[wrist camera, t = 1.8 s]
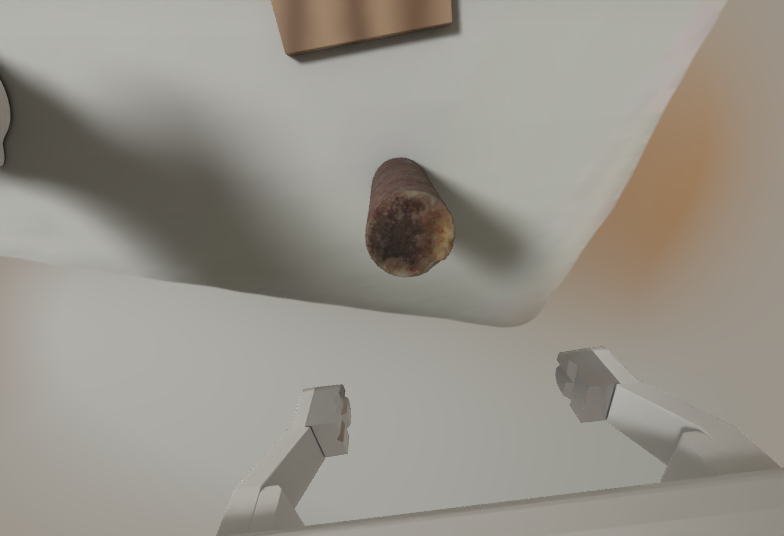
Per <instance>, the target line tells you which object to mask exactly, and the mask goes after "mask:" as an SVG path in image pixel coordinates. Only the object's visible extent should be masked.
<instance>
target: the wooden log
mask: <svg viewBox="0 0 784 536" xmlns="http://www.w3.org/2000/svg"><path fill="white" fill-rule="evenodd" d="M365 237H366V246H367V250H368V252H369V254H370V256H371V259H372V260H373V261H374V262H375V263H376V264H377V266H378V267H380V268H381V269H383V270H384V271H385V272H387V273H389V274H392V275H395V276H399V277H412V276H419V275H421V274H423V273H426V272H428V271H429V270H430V269H431V268H432V267H433V266H434V265H436V264H437V263H438V262H440V261H441V260H445V259H446V257H447V256H448V255H449V253H450V252H451V249H452V247H453V242H454V239H455V226H454V223H453V219H452V216H451V213H450V212H449V210H448V209H447V207H446V205H445V204H444V202H443V201H442V199H441V197H440V196H439V195H438V193H437V191H436V190H435V188H434V187H433V185H432V184H431V182H430V180H429V179H428V177H427V175H426V174H425V172H424V171H423V169H422V168H421V167H420V166H419V165H418V164H417V163H416V162H414V161H412V160H410V159H407V158H393V159H390V160H388V161H386V162H384V163H383V164H382V165H381V166H380V167H379V168H378V170H377V171H376V173H375V175H374V177H373V181H372V187H371V196H370V205H369V212H368V219H367V225H366V235H365Z"/></svg>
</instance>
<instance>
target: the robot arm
mask: <svg viewBox="0 0 784 536" xmlns="http://www.w3.org/2000/svg"><path fill="white" fill-rule="evenodd" d="M9 124H10V107H9V102H8V98H7V95H6V92H5V89H4V87H3V85H2V82H1V80H0V166H2V165H3V164H4V150H3V140H4V137H5V135H6V133H7V131H8V128H9ZM557 361H558V362H559V364H560V365H559V366H558V367H557V368H556V375H555V376H556V381H557V384H558V386H559V388H560V390H561V392H562V393H563V395H564V396H566V397H568V398H569V399H571V404H570V406H571V407H572V409H573V411H574V412H575V414H576V415H577V417H578V418H579V420H580V422H581V423H582V422H592V421H602V420H607V422H608V423H609V424H611V425H612V426H614V427H615V428H616V429H618V430H619V431H620V432H622V433H623V434H625V435H626V436H627V437H629V438H630V439H631V440H633V441H634V442H636V443H637V444H638V445H640V446H642V447H643V448H644V449H645V450H647V451H648V452H649V453H651V454H652V455H654V456H655V457H657V458H658V459H659V460H660V461H662V462H663V463H665V464H666V465H667V467H666V469H665V471H664V473H663V475H662V478H661V483H653V484H645V485H637V486H629V487H621V488H613V489H604V490H596V491H588V492H580V493H571V494H563V495H555V496H547V497H538V498H530V499H522V500H513V501H505V502H497V503H489V504H481V505H473V506H465V507H456V508H448V509H440V510H432V511H424V512H416V513H409V514H400V515H392V516H383V517H375V518H367V519H359V520H351V521H343V522H334V523H326V524H319V525H310V526H305V525H304V524H303V522H302V521H301V519H300V517H299V516H298V514H297V513H296V511H295V507H296V505H297V504H298V502H299V500H300V499H301V497H302V496H303V494H304V492H305V491H306V489H307V487H308V486H309V484H310V482H311V481H312V479H313V478H314V476H315V474H316V473H317V471H318V469H319V468H320V466H321V464H322V463H323V461H324V460H325V458H324V457H329V456H336V455H342V454H347V453H348V443H349V434H348V431H347V428H348V427H349V425H350V422H351V421H350V420H351V408H350V403H349V400H348V398H347V397H345V389H344V386H343V385H332V386H323V387H316V388H308V389H303V391H302V392H301V395H300V398H299V402H298V405H297V409H296V413H295V416H294V420H293V424H292V427H291V429H289V430H286V431H285V433H284V434H283V435H282V436H281V437H280V438H279V439H278V440H277V442H276V443H275V444H274V445H273V446H272V447H271V449H270V450H269V451H268V452H267V453H266V454H265V455H264V456H263V457H262V459H261V460H260V461H259V462H258V463H257V464H256V465H255V466H254V468H253V469H252V470H251V471H250V472H249V473H248V474H247V475H246V477H245V478H244V479H243V480H242V481H241V482H240V483H239V485H238V486H237V487H236V488H235V489H234V491H233V494H232V496H231V499H230V501H229V504H228V507H227V509H226V512H225V515H224V517H223V520H222V522H221V525H220V527H219V530H218V533H217V535H216V536H784V467H783V468H781V467H780V466H779V465H778V464H777V463H775V461H773V460H772V459H771V458H770V457H769V456H768V455H767V454H766V453H765V452H763V451H762V450H761V449H760V448H759V447H758V446H756V444H754V443H753V442H752V441H751V440H750V439H749V438H748V437H747V436H746V435H744V434H743V433H742V432H741V431H740V430H739V429H738V428H737V427H736V426H734V425H733V424H731V423H729V422H726V421H724V420H722V419H720V418H718V417H716V416H714V415H712V414H710V413H708V412H706V411H703V410H701V409H699V408H697V407H695V406H693V405H691V404H689V403H687V402H685V401H683V400H681V399H679V398H676V397H674V396H672V395H670V394H668V393H666V392H664V391H662V390H660V389H658V388H656V387H654V386H652V385H649V384H647V383H645V382H643V381H636V379H635V378H634V377H633V376H632V375H631V374H630V373H629V372H628V371H627V370H626V369H625V368H624V367H623V366H622V365H621V364H620V363H619V361H618V360H617V359H616V358H615V357H614V356H613V355H612V354H611V353H610V352H609V351H608V350H607V349H606V348H605V347H603V346H601V347H594V348H588V349H579V350H573V351H567V352H561V353H559V355H558V358H557Z"/></svg>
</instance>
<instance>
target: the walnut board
mask: <svg viewBox="0 0 784 536" xmlns="http://www.w3.org/2000/svg"><path fill="white" fill-rule="evenodd" d="M271 2H272V6H273V10H274V13H275V17H276V21H277V24H278V28H279V32H280V35H281V39H282V43H283V46H284V50H285V54H287V55H288V56H292V55H297V54H302V53H308V52H313V51H318V50H323V49H328V48H333V47H339V46H344V45H349V44H354V43H359V42H365V41H370V40H375V39H380V38H385V37H391V36H396V35H401V34H406V33H411V32H417V31H422V30H427V29H432V28H437V27H443V26H448V25H450V24H451V23H452V9H451V0H271Z"/></svg>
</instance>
